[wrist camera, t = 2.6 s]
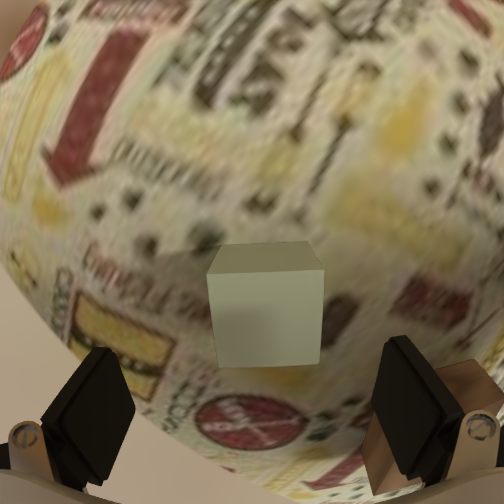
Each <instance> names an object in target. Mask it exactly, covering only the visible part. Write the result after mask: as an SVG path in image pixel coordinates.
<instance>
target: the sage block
mask: <svg viewBox="0 0 504 504" xmlns="http://www.w3.org/2000/svg"><path fill="white" fill-rule="evenodd" d="M324 270H325V269H324V268H323V266H322V264H321V263H320V261H319V259H318V258H317V256H316V254H315V253H314V251H313V249H312V248H311V246H310V245H309V243H308V241H302V242H277V243H253V244H230V245H221V247H220V249H219V251H218V253H217V255H216V256H215V258H214V260H213V262H212V264H211V266H210V268H209V270H208V272H207V274H206V276H207V285H208V294H209V302H210V310H211V318H212V326H213V333H214V341H215V348H216V355H217V362H218V367H223V368H242V367H279V366H297V365H311V364H319V358H320V346H321V332H322V316H323V297H324Z"/></svg>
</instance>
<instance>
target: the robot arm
mask: <svg viewBox="0 0 504 504" xmlns="http://www.w3.org/2000/svg"><path fill="white" fill-rule="evenodd" d="M371 401H372V407H373V409H374V411H375V414H376V416H377V418H378V421H379V423H380V425H381V427H382V430H383V432H384V435H385V437H386V439H387V442H388V444H389V447H390V449H391V451H392V454H393V456H394V459H395V461H396V464H397V466H398V469H399V471H400V473H401V474H402V475H406V478H407V480H408V481H410V480H412V479H415V478H418V477H421V480H422V482H423V484H422V486H421V489H420V490H418V491H415V492H412V493H409V494H406V495H403V496H399V497H396V498H393V499H389V500H386V501H382V502H378V503H375V504H504V431H500V424H499V421H498V419H497V418H496V417H495V416H494V415H493V414H491V413H489V412H487V411H483V410H476V411H472V412H470V413H468V414H467V415H465V413H464V412H463V409H462V407H461V406H460V404H459V403H458V402H457V400H456V399H455V397H454V396H453V395H452V393H451V392H450V391H449V389H448V388H447V387H446V385H445V384H444V383H443V381H442V380H441V379H440V377H439V376H438V375H437V373H436V372H435V371H434V369H433V368H432V367H431V366H430V364H429V363H428V362H427V360H426V359H425V358H424V357H423V355H422V354H421V353H420V352H419V350H418V349H417V348H416V347H415V345H414V344H413V343H412V342H411V340H410V339H409V338H408V337H407V336H406V335H402V336H396V337H391V338H390V339H389V340H388V342H386V343H385V344H384V347H383V352H382V357H381V362H380V366H379V370H378V375H377V379H376V383H375V387H374V391H373V394H372V399H371ZM134 414H135V404H134V401H133V399H132V396H131V394H130V391H129V389H128V386H127V384H126V381H125V378H124V376H123V373H122V370H121V367H120V364H119V362H118V359H117V356H116V354H115V353H114V352H112V350H111V349H110V348H107V347H94V348H93V349H92V350H91V352H90V353H89V354H88V355H87V357H86V358H85V359H84V360H83V362H82V363H81V364H80V366H79V367H78V368H77V370H76V371H75V372H74V374H73V375H72V376H71V378H70V379H69V380H68V381H67V383H66V384H65V385H64V387H63V388H62V390H61V391H60V392H59V394H58V395H57V396H56V398H55V399H54V400H53V402H52V403H51V405H50V406H49V407H48V409H47V410H46V412H45V413H44V414H43V416H42V418H41V419H40V420H41V421H42V425H41V426H39V425H38V424H37V423H35V422H33V421H24V422H21V423H18V424H17V425H15V426H14V427H13V428H12V430H11V431H10V433H9V437H8V443H4V444H0V504H120V503H116V502H112V501H109V500H106V499H102V498H99V497H96V496H92V495H89V493H88V491H87V488H86V484H87V482H89V483H91V484H95V485H98V486H102V484H103V481H104V480H107V479H108V477H109V475H110V472H111V470H112V467H113V465H114V462H115V460H116V458H117V455H118V453H119V450H120V447H121V445H122V443H123V440H124V438H125V435H126V433H127V431H128V428H129V426H130V423H131V421H132V419H133V417H134Z"/></svg>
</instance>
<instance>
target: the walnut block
mask: <svg viewBox="0 0 504 504" xmlns="http://www.w3.org/2000/svg"><path fill="white" fill-rule="evenodd" d="M434 371H435V372H436V373H437V375H438V376H439V377H440V379H441V380H442V381H443V383H444V384H445V385H446V387H447V388H448V389H449V391H450V392H451V393H452V395H453V396H454V397H455V399H456V400H457V402H458V403H459V404H460V406H461V407H462V409H463V412H464V413H465V415H467V414H468V413H470V412H472V411H476V410H483V411H487V412H489V413H491V414H493V415H494V416H495V417H496V415H497V414H498V412H499V410H500V409H501V407H502V405H503V403H504V392H503V391H502V390H501V389H500V388H499V386H498V385H497V384H496V383H495V382H494V381H493V379H492V378H491V377H490V376H489V375H488V374H487V373H486V371H485V370H484V369H483V368H482V367H481V366H480V365H479V364H478V362H477V361H476V360H475V359H472V360H468V361H465V362H462V363H458V364H455V365H451V366H448V367H444V368H440V369H436V370H434ZM361 453H362V457H363V460H364V464H365V467H366V471H367V475H368V478H369V482H370V486H371V489H372V493H373V496H375V495H379V494H383V493H387V492H391V491H394V490H398V489H401V488H404V487H408V486H411V485H414V484H417V483H420V482H422V480H421V477H418V478H415V479H412V480H410V481H408V480H407V478H406V475H402V474H401V473H400V471H399V469H398V466H397V464H396V461H395V459H394V456H393V454H392V451H391V449H390V447H389V444H388V442H387V439H386V437H385V435H384V432H383V430H382V427H381V425H380V423H379V421H378V418H377V416H376V414H375V411H374V413H373V416H372V419H371V422H370V425H369V428H368V431H367V434H366V437H365V440H364V442H363V445H362V448H361Z"/></svg>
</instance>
